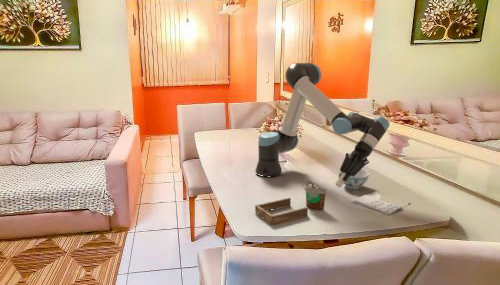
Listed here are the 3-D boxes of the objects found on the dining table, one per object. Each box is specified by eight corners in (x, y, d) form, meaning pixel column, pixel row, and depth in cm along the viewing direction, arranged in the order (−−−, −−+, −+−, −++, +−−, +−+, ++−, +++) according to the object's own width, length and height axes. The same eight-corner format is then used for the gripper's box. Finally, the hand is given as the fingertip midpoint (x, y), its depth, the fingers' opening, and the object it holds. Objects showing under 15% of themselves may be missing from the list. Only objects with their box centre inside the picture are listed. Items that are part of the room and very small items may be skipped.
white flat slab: (350, 202, 158) (351, 198, 157) (376, 193, 170) (376, 189, 169) (388, 217, 143) (389, 212, 143) (413, 205, 155) (414, 200, 155)
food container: (298, 203, 156) (299, 182, 154) (309, 201, 158) (310, 180, 156) (313, 213, 145) (314, 191, 143) (325, 211, 147) (326, 189, 145)
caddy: (255, 213, 145) (255, 205, 145) (289, 205, 154) (289, 197, 153) (271, 225, 134) (272, 217, 134) (307, 215, 143) (307, 208, 142)
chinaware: (350, 193, 167) (351, 178, 166) (331, 184, 181) (332, 170, 179) (374, 189, 173) (375, 174, 171) (354, 180, 187) (355, 166, 185)
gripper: (380, 153, 157) (352, 194, 152) (359, 147, 168) (331, 186, 163) (373, 143, 153) (344, 185, 148) (351, 138, 164) (323, 177, 159)
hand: (337, 185), depth 156 cm, fingers closed
